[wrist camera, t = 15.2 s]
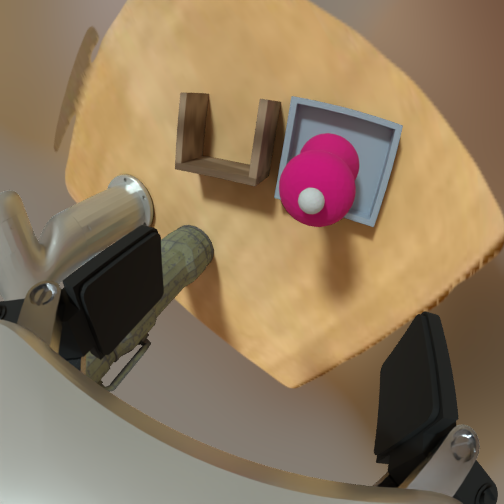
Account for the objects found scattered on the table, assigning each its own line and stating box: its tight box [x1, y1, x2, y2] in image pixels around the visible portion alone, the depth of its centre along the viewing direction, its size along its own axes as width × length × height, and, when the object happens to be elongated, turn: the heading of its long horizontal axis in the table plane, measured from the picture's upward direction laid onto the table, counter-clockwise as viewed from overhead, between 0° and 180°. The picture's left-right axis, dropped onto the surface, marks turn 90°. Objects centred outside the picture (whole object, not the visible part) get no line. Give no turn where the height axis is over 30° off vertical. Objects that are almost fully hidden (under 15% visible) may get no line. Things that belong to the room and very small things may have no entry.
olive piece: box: [86, 225, 214, 392], centre depth 35 cm, size 9×12×35 cm
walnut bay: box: [175, 93, 281, 186], centre depth 35 cm, size 11×12×6 cm
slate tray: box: [274, 96, 403, 227], centre depth 33 cm, size 14×14×3 cm
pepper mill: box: [279, 133, 360, 227], centre depth 25 cm, size 7×7×20 cm
